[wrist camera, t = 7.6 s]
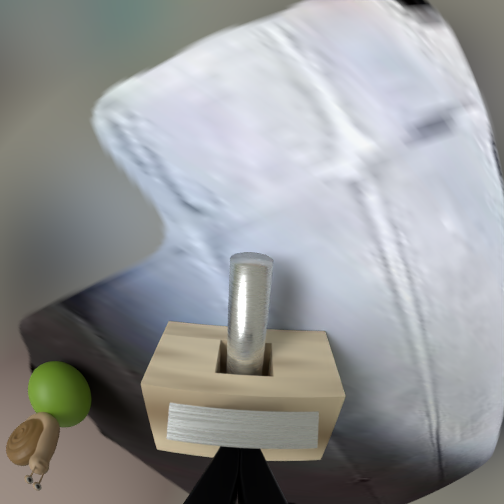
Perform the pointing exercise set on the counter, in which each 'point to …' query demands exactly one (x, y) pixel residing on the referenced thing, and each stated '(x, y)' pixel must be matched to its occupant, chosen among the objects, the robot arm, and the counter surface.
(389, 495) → the counter surface
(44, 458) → the snail figurine
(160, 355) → the block
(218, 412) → the bar
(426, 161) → the counter surface
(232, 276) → the pin
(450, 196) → the counter surface
